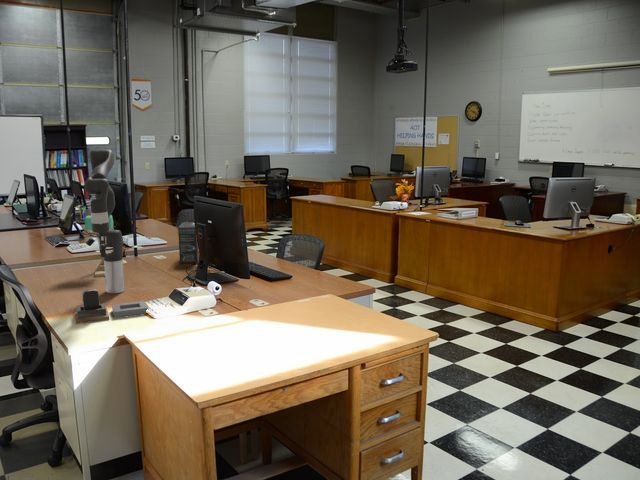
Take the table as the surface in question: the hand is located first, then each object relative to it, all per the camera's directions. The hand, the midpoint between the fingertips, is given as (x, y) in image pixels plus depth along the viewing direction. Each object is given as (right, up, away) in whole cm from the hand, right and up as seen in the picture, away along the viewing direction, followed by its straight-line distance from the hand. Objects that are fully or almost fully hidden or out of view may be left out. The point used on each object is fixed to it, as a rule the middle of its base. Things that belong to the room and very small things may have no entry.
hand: (103, 255), depth 267 cm
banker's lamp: (-29, -13, +75) cm, 82 cm away
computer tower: (+16, -6, +111) cm, 112 cm away
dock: (+13, -27, 0) cm, 30 cm away
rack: (-2, -28, -7) cm, 29 cm away
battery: (-3, -27, -7) cm, 28 cm away
